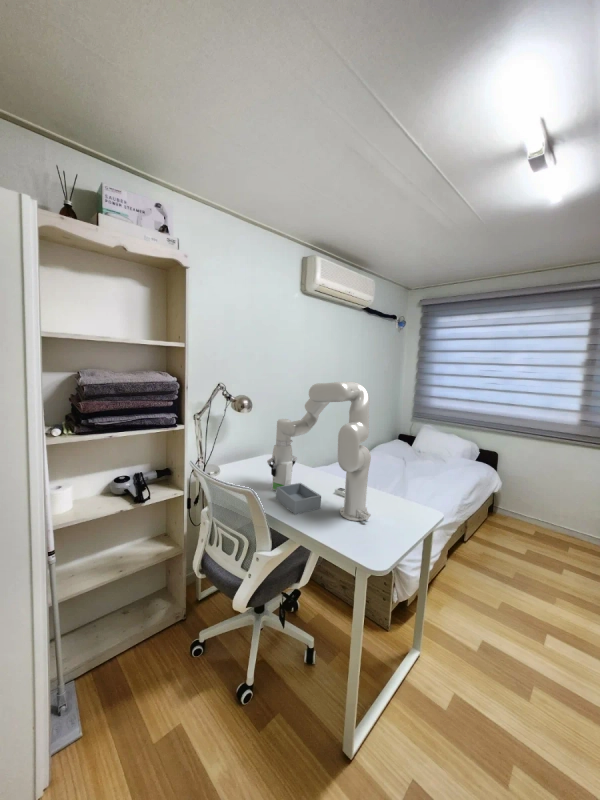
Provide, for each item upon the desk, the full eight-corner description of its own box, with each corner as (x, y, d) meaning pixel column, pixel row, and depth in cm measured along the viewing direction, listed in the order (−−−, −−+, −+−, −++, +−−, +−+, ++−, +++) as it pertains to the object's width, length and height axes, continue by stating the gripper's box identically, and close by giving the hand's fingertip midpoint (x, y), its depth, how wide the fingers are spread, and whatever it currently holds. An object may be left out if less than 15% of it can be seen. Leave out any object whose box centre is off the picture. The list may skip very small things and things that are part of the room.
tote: (320, 508, 143) (321, 495, 142) (294, 514, 135) (295, 501, 135) (300, 493, 158) (300, 482, 157) (276, 498, 150) (276, 487, 150)
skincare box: (271, 489, 161) (272, 461, 160) (278, 485, 167) (279, 458, 166) (285, 493, 157) (286, 464, 156) (291, 489, 163) (292, 460, 162)
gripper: (293, 439, 167) (292, 470, 169) (265, 442, 158) (263, 474, 160) (301, 443, 161) (299, 474, 163) (271, 446, 152) (270, 479, 154)
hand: (281, 474), depth 162 cm, fingers closed on skincare box, 9 cm apart
